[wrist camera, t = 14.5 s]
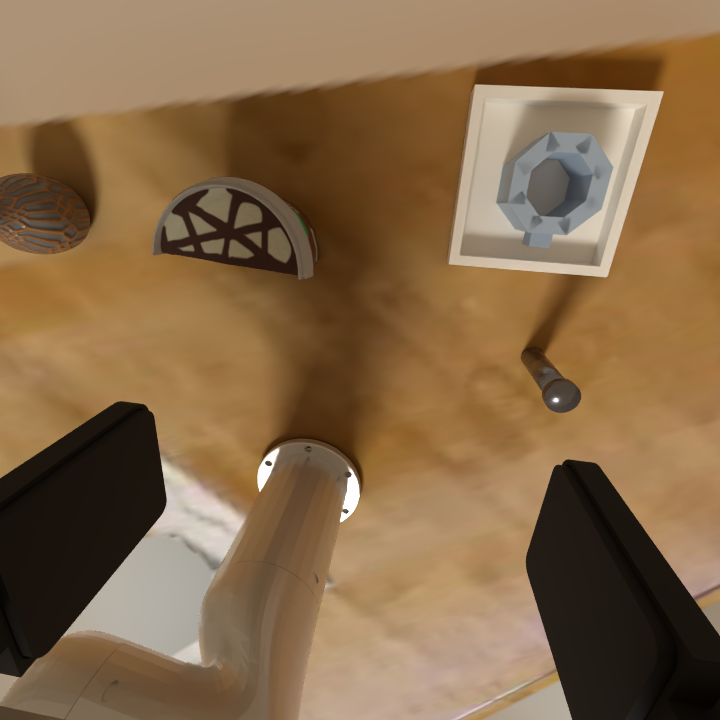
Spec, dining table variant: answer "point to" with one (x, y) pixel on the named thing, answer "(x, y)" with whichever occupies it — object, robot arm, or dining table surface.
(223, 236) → the food container
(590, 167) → the ring
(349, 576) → the dining table surface
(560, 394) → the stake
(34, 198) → the vase
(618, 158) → the tray
